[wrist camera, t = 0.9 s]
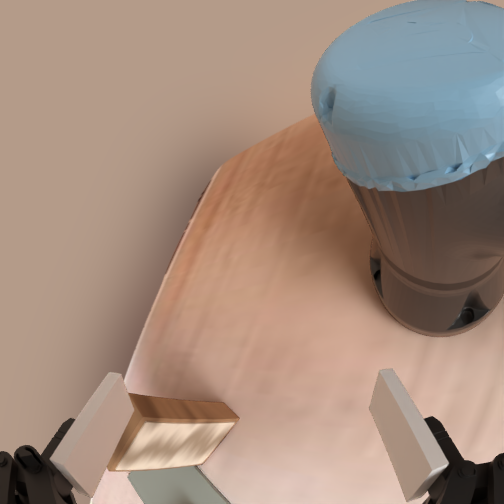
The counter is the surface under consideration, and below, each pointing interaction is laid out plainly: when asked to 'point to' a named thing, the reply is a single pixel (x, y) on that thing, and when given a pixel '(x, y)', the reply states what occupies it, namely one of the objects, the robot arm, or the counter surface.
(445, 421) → the counter surface
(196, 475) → the mat
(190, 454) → the slab
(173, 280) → the counter surface
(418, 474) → the robot arm
